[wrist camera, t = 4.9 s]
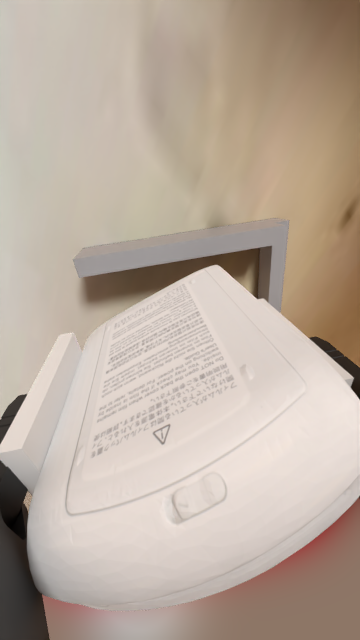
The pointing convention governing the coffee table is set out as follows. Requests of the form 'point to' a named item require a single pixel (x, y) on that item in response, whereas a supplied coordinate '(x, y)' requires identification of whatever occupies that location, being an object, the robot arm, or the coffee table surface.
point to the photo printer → (190, 452)
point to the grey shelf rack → (199, 252)
